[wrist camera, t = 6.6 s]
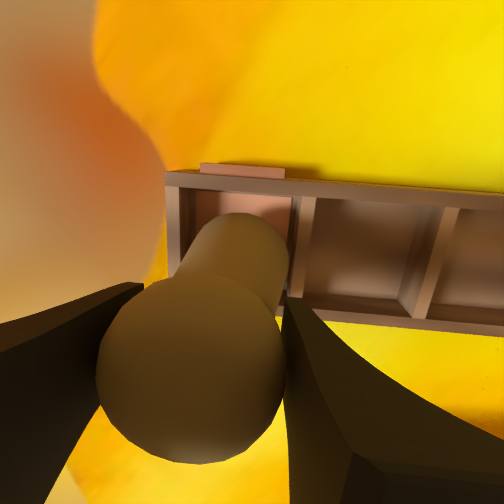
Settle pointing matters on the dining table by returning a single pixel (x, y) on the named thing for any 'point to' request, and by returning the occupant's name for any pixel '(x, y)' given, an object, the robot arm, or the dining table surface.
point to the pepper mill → (201, 348)
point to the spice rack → (361, 244)
